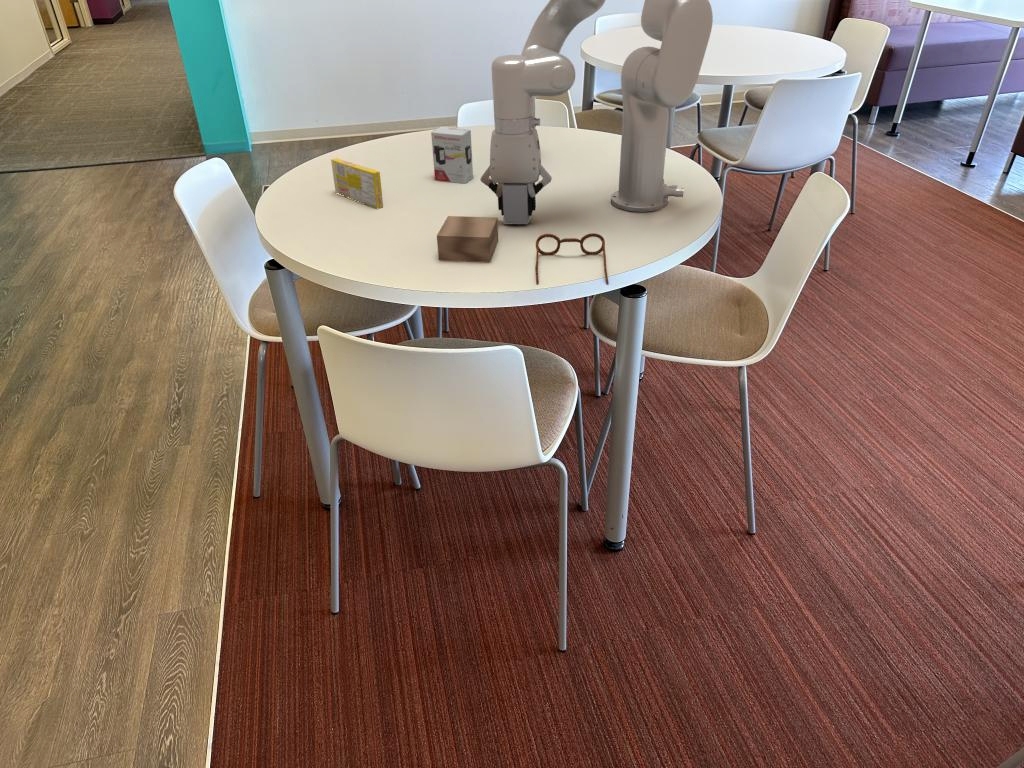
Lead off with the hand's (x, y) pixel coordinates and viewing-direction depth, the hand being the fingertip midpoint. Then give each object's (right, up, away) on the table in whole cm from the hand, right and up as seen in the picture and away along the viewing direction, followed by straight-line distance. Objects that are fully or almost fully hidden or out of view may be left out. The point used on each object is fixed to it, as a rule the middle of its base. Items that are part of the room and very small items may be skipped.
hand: (517, 212), depth 151 cm
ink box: (-15, +14, +26) cm, 33 cm away
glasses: (+10, -15, -18) cm, 25 cm away
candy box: (-36, +6, +15) cm, 40 cm away
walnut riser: (-10, -10, -10) cm, 17 cm away
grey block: (0, -1, +1) cm, 2 cm away
